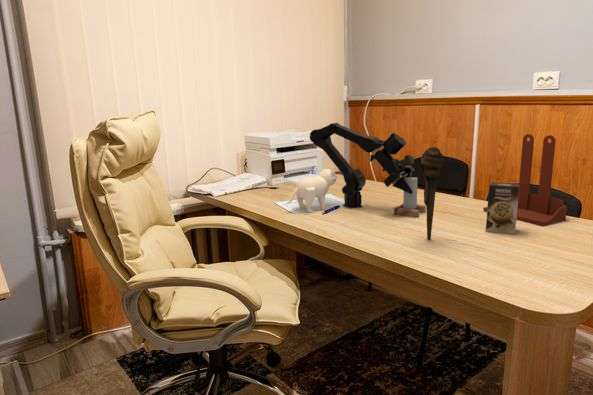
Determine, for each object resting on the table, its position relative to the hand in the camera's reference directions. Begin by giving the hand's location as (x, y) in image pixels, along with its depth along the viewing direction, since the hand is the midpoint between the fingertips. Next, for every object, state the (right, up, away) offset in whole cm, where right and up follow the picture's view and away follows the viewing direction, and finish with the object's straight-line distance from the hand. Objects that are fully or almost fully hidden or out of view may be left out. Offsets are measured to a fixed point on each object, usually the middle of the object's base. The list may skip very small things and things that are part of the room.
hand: (413, 192), depth 166 cm
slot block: (-1, -8, +3) cm, 9 cm away
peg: (-1, -6, +2) cm, 7 cm away
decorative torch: (-3, -16, -28) cm, 33 cm away
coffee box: (+23, -13, -22) cm, 35 cm away
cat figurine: (-39, -7, +15) cm, 42 cm away
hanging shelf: (+39, -9, -6) cm, 41 cm away
